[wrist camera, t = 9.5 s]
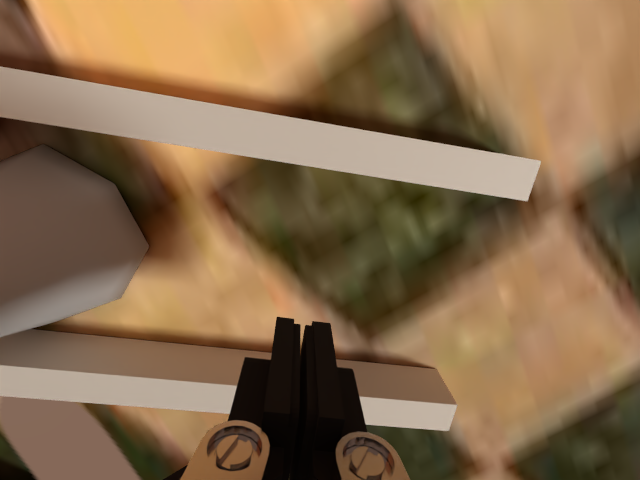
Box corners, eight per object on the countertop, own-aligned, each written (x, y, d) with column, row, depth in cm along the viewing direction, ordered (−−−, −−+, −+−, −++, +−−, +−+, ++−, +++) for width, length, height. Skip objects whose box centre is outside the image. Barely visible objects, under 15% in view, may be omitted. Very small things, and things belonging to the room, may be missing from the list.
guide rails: (503, 155, 15) (541, 161, 13) (429, 392, 19) (448, 430, 17) (-127, 45, 13) (-225, 27, 10) (-70, 347, 16) (-132, 385, 14)
